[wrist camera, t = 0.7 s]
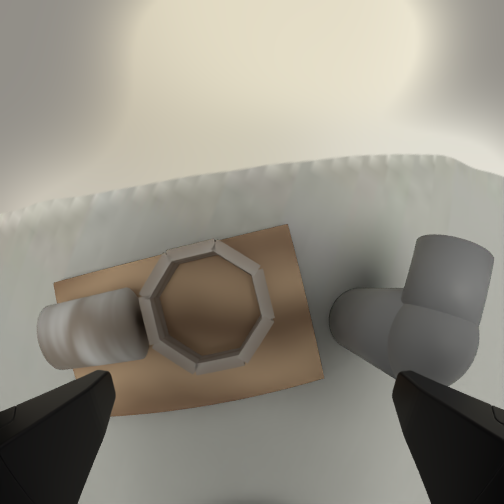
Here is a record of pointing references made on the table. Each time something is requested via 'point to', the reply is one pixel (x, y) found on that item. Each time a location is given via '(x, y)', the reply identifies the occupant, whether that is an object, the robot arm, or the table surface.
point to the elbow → (421, 312)
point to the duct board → (188, 324)
